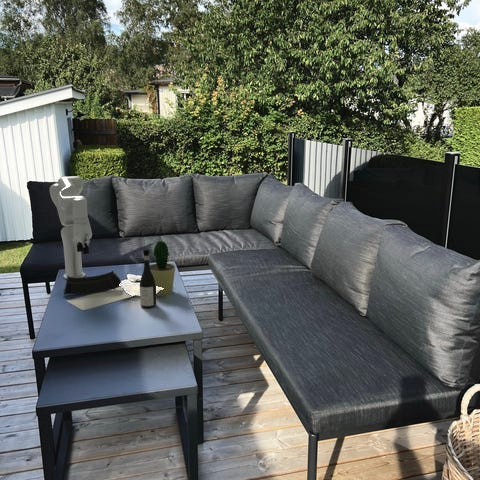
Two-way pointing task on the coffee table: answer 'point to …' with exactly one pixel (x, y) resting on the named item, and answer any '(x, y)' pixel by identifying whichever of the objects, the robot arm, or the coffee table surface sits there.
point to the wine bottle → (147, 284)
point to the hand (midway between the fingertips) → (83, 252)
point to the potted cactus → (162, 269)
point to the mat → (99, 299)
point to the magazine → (92, 284)
